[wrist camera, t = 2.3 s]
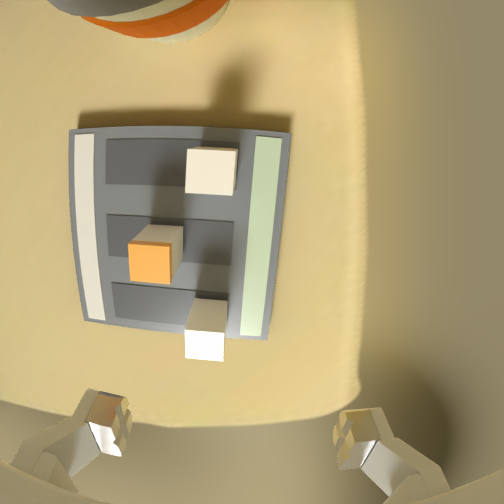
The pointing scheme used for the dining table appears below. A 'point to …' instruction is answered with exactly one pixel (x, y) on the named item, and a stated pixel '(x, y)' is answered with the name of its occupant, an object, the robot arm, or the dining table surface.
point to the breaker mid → (156, 254)
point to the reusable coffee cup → (149, 16)
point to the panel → (176, 224)
